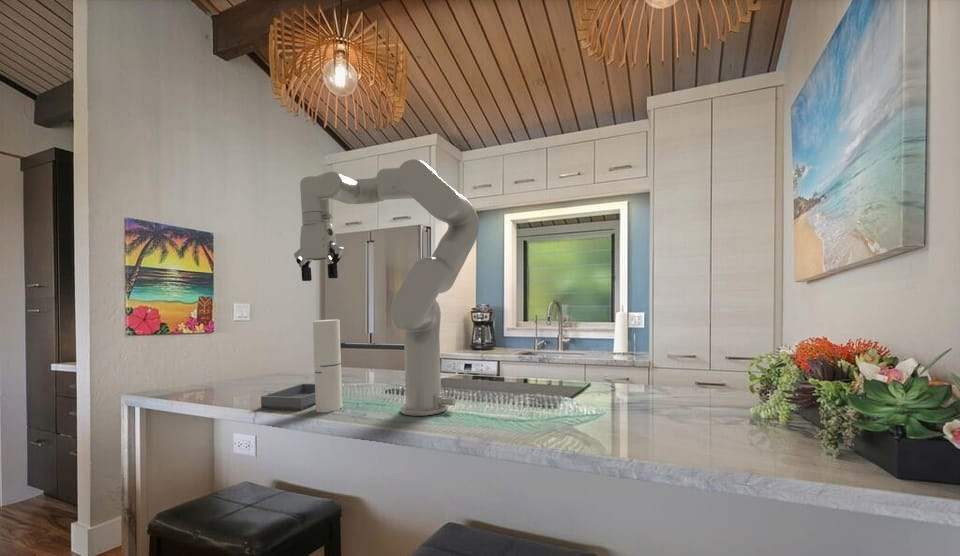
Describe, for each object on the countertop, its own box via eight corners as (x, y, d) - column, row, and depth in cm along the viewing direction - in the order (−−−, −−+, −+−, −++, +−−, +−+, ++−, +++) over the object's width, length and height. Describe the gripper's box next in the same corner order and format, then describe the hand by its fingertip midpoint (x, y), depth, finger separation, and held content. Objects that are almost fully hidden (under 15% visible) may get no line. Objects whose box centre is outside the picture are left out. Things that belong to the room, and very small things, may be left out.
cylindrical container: (337, 411, 126) (334, 320, 126) (311, 412, 126) (309, 321, 126) (345, 405, 133) (342, 319, 133) (321, 406, 133) (318, 320, 134)
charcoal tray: (339, 395, 146) (339, 384, 146) (301, 410, 129) (301, 398, 129) (302, 394, 150) (302, 383, 150) (261, 408, 133) (260, 396, 133)
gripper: (348, 218, 132) (352, 277, 131) (303, 225, 139) (306, 281, 138) (330, 214, 125) (334, 277, 124) (283, 222, 132) (287, 282, 131)
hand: (319, 279), depth 131 cm, fingers open, 9 cm apart
